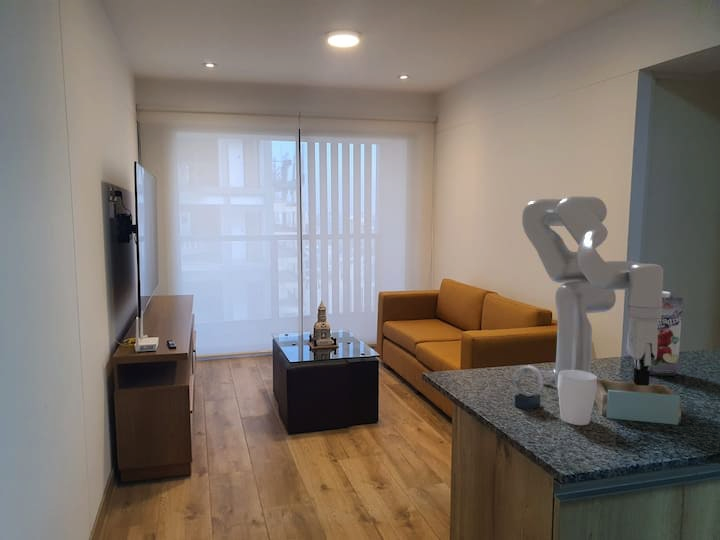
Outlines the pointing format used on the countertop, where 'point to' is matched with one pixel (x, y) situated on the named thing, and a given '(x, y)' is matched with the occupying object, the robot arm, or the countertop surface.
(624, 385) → the crate
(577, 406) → the cup
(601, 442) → the countertop surface
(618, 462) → the countertop surface
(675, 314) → the juice carton
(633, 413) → the panel
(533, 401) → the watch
